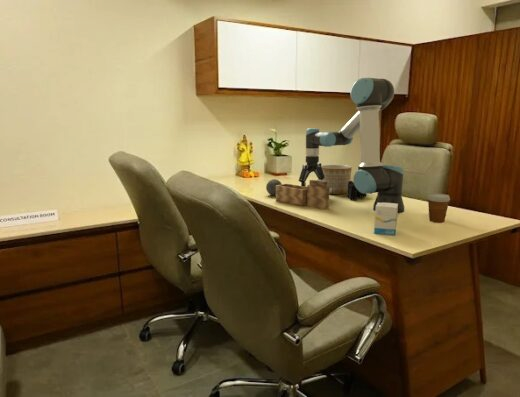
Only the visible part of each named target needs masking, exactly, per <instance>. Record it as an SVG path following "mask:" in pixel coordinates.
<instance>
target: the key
mask: <svg viewBox="0 0 520 397" xmlns="http://www.w3.org/2000/svg"><path fill="white" fill-rule="evenodd" d="M308 182H309V183H308V184H309V185H315V186H321V187H327V182H325V181H318V180H317V179H309V181H308Z"/></svg>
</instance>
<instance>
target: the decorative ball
mask: <svg viewBox="0 0 520 397" xmlns="http://www.w3.org/2000/svg"><path fill="white" fill-rule="evenodd" d="M281 184H283V183H282V182H281V181H280V180H278V179H271V180H268V182H267V184H266V187H265V189H266V192H267V194H269V195H270V196H273V197H274V196H275V197H276V185H281Z"/></svg>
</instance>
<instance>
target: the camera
mask: <svg viewBox="0 0 520 397" xmlns="http://www.w3.org/2000/svg"><path fill="white" fill-rule="evenodd" d="M366 197H367V194H363V193H361V192H359V191H358V189H356V187H355V185H354V181H353V180H350V181H349V183H348V193H347V198H348V199H349V201H357V199H358V198H366Z"/></svg>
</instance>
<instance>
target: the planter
mask: <svg viewBox="0 0 520 397" xmlns="http://www.w3.org/2000/svg"><path fill="white" fill-rule="evenodd" d="M321 167H322V170H323V173H324V179H323V180H322V181H325V182H327V187H329V188H332V192H330V193H329V195H331V196H332V195H334V196H335V195H336V196H342V195H348V183H349V181H351V177H352V169H353V167H352V165H346V164H326V165H321Z"/></svg>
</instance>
